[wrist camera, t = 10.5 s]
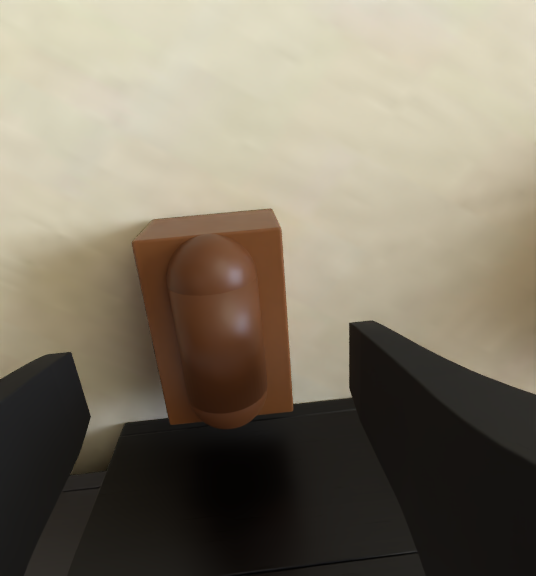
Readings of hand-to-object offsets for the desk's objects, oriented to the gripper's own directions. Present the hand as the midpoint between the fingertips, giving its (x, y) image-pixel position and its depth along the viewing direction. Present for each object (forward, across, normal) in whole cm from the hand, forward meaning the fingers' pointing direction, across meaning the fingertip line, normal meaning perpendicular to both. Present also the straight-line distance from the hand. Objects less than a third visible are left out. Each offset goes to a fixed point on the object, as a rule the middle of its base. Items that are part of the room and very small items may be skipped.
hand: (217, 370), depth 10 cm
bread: (+5, 0, 0) cm, 5 cm away
